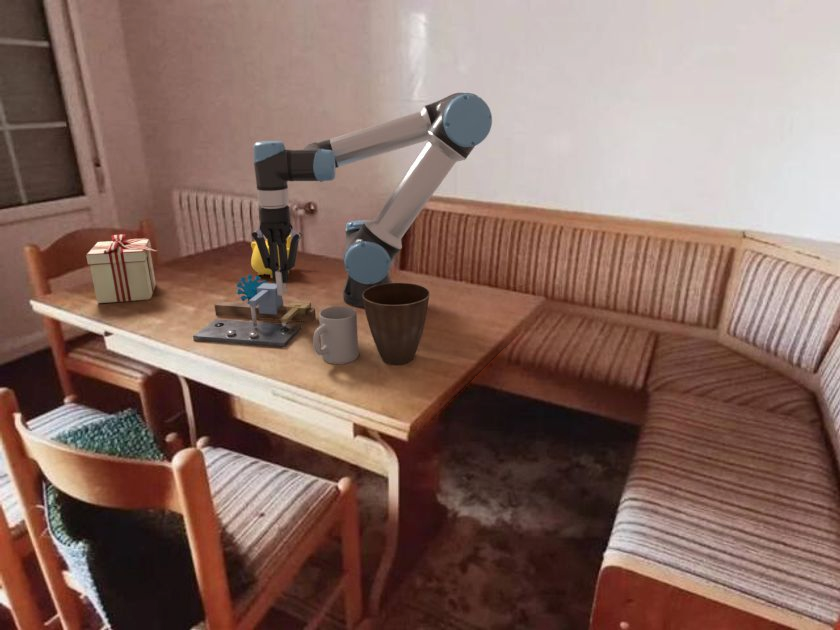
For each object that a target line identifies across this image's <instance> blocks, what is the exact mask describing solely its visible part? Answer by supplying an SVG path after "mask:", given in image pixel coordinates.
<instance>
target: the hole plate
mask: <svg viewBox="0 0 840 630" xmlns="http://www.w3.org/2000/svg"><path fill="white" fill-rule="evenodd" d="M286 326H287V328H286V329H283V327H282V323H272V322H271V323H270V322H258V321H257V326H256V327H254V326H253V321H246V320H234V319H220V318H219V319H218V318H214V320H212V321H211V322H210V323H208V324H207V325H205V326H204V327H202V329H200V330H199V331H197V332H196V333H195V334H193V336H192V338H193V341H198V342H199V341H200V342H209V343H210V342H211V343H223V344H224V343H225V344H237V345H246V346H247V345H248V346H258V347H259V346H261V347H270V348H271V347H272V348H283V349H285V348H286V347H287V346H288V345H289V344H290V343H291V341H292V340H294V339H295V337H296V336H297V335H298V334H299V333H300V332H301V331H302V329H303V328H302V325H299V324H289V323H286Z"/></svg>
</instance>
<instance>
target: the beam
mask: <svg viewBox="0 0 840 630" xmlns="http://www.w3.org/2000/svg"><path fill="white" fill-rule="evenodd" d="M287 306H288V305H287ZM287 306H284V305H283V306H280V307H279V308H278V314H277V315H276V314H262V313H259V306H258V305H257V306H256V307H255V312H256V319H264V320H266V319H268V320H279V321H281V318H282V317H283V316H284V315H285V314H286V313H287ZM214 312H215V316H225V317H237V318H251V319H252V313H251V306H250V304H248V303H244V302H243V303H242V302H231V301H230V302H228V301H218V302H216V303H215V304H214ZM316 317H317V315H316V308H315V307H311V308H308V309H307V310H306V316H305V317H304V316H294V317H293V318H292V319H291V320H290V321H294V322H304V323H305V322H309V323H313V322H314V321H315V320H316V319H317V318H316Z"/></svg>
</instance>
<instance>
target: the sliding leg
mask: <svg viewBox="0 0 840 630" xmlns="http://www.w3.org/2000/svg"><path fill="white" fill-rule="evenodd" d="M248 301H249V304H250V306H251V313H252V318H251V322H253V326H254V327H256V326H257V322H258V321H257V318H256V312H255V307H256V306H257V305H258V306H259V313H262V314H276V315H277V314H278V308H279V307H280V306H284V301H283V296H279V295H277V286H276V283H268V282H267V283H263V284H261V285H260V286H259V287H257V295H255V296H254V297H253V298H252V299H250V300H248Z"/></svg>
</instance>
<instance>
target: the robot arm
mask: <svg viewBox="0 0 840 630" xmlns="http://www.w3.org/2000/svg"><path fill="white" fill-rule="evenodd" d="M492 125H493V116H492V112H491V109H490V107H489V105H488V104H487V103H486V101H485V100H483V98H482V97H480V96H478V95H477V94H475V93H471V92H456V93H452V94H450V95H447V96H446V97H443V98H441V99H440V100H437V101H435V102H432V103H429V104H426V105H423V106H422V108H421V109H420V111H417V112H414V113H411V114H407V115H404V116H401V117H397V118H394V119H390V120H388V121H385V122H381V123H378V124H374V125H371V126H368V127H365V128H361V129H358V130H355V131H351V132H347V133H346V134H342V135H339V136H336V137H332V138H330V139H327V140H322V141H319V142H316V141H315V142H311V143H309V144H308V145H306V146H305V147H304V148H303V149H286V146H285V143H284V142H283V141H280V140H260V141H257V142H255V143H254V144H253V149H252V150H253V166H254V174H255V181H256V182H255V184H256V191H257V192H256V193H257V194H256V195H257V204H258V205H259V207H258V211H259V212H258V214H259V215H258V216H259V221H260V225H259V226H258V227H259V228H258V229H257V230H255V231H253V232H252V233H251V237H252V239H254V242H256V243H257V246H258V249H259V252H260V255H261V258H262V261H263V264H264V267H265V268H266V269H267V268H268V269H271V270H272V276H273V278H272V281H273V283H275V284H276V286H277V295H279V296H282V297H283V296H284V295H285V294H287V283H288V282H289V280H290V278H289V273H288V270H289V271H291V270H292V269H293V268H294V267H295V265H296V260H297V253H298V247H299V241H300V240H301V238H302V237H303V234H302V232H297V231H296V230H294V228H293V227H294V226H293V225H292V223H291V211H290V208H291V207H290V206H289V203H290V200H289V199H290V197H289V186H288V185H289V184H288V182H320V183H323V182H328V181H329V182H330V181H333V180H334V179H336V169H337V168H340V167H342V166H343V167H344V166H347V165H349V164H353V163H356V162H360V161H364V160H366V159H370V158H373V157H377V156H381V155H383V154H387V153H390V152H393V151H397V150H400V149H403V148H407V147H410V146H413V145H417V144H420V143H423V142H426V141H427V142H426V144H425V145H424V147H423V148H422V149H421V151H420V153H419V154H418V155H417V157H416V158H415V159H414V161H413V162H412V164H411V165H410V167H409V168H408V170H407V171H406V173H404V175H403V177H402V178H401V180H399V182H398V183H397V184H396V187H395V188H394V190H393V191H392V192H391V194H390V195H389V197H388V198H387V200H386V201H385V202H384V204H383V205H382V207H381V208H380V209H379V211H378V213H377V214H376V215H375V217H374V218H373V219H364V220H363V219H361V220H360V219H359V220H352V221H348V222H347V223H346V225H345V230H344V232H345V238H346V239H345V241H346V243H345V244H346V245H345V251H344V256H343V264H344V268H345V271H346V273H347V276H346V280H345V285H344V286H343V287H344V288H343V293H342V294H343V295H342V296H343V301H344V303H346V304H348V305H350V306H353V307H354V306H355V307H361V308H362V307H363V308H364V303H363V297H362V293H363V292H364V291H365V290H366V289H368V288H370V287H372V286H375V285H380V284H386V283H393V282H392V279H391V276H390V273H389V271H390V269H391V265H392V262H393V261H394V259H395V258H396V257H397V255H398V254H399V253H400V251H401V249H402V248H403V245H402V238H403V237H404V235H405V234H406V233H407V231H408V230H409V229H410V227H411V226H412V225H413V223H414V221H415V220H416V219H417V217H418V216H419V214H420V213H421V212H422V210H423V209H424V207H425V206H426V205H427V203H428V202H429V201H430V199H431V197H432V196H433V195H434V193H435V192H436V191H437V190H438V188H439V187H440V185H441V184H442V182H443V181H444V180H445V178H446V177H447V175H448V174H449V173H450V171H451V170H452V168H453V166H454V165H455V164H456V163H457V162H461V161H465V160H467V158H468V156H469V155H470V154H471V153H472V151H473V150H474V149H475V147H476V146H479V144H481V143H482V142H483V141H485V139H486V138H487V137H488V136H489V134H490V133H491V132H490V131H491V129H492ZM290 234H291V243H290V249H289V256H288V257H287V245H286V244H287V238H288V237H289V235H290ZM264 237H265V238H264ZM266 239H267V241H268V246H269V252H268V249H267V245H266V242H265V241H266ZM277 246H278V249H279V260H280V266H279V260H278V249H277ZM269 253H270V255H269ZM279 267H280V269H278V268H279Z"/></svg>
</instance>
